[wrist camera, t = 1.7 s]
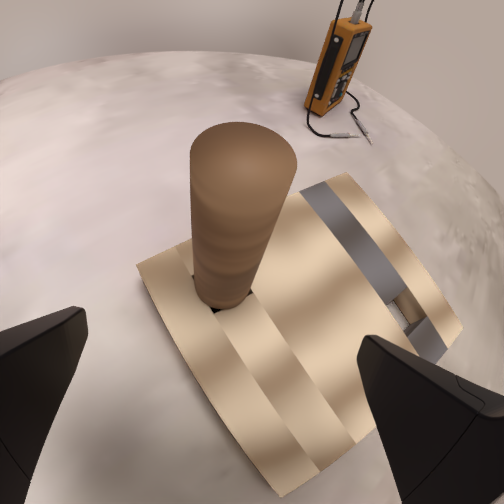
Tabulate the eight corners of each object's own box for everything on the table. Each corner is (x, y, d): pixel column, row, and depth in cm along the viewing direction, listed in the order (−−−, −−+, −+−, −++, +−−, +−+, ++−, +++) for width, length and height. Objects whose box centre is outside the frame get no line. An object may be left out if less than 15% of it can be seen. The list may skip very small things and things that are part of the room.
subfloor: (446, 335, 23) (463, 327, 21) (272, 488, 16) (280, 498, 14) (337, 188, 29) (346, 172, 27) (142, 279, 22) (135, 264, 19)
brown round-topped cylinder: (253, 305, 22) (318, 175, 10) (211, 329, 21) (223, 213, 8) (228, 266, 23) (259, 113, 11) (186, 287, 22) (172, 138, 10)
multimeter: (359, 163, 31) (440, 11, 14) (287, 118, 33) (333, -37, 16) (391, 119, 38) (448, 12, 21) (335, 85, 40) (377, -24, 22)
